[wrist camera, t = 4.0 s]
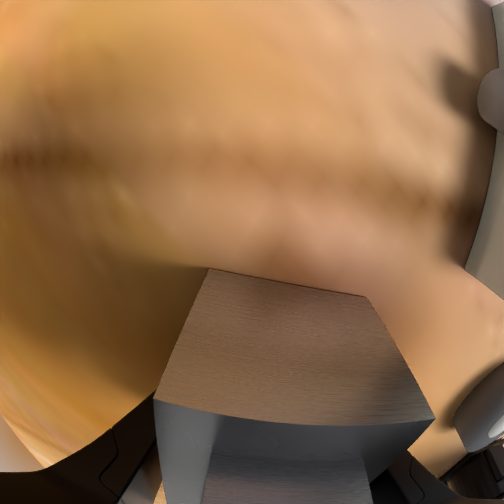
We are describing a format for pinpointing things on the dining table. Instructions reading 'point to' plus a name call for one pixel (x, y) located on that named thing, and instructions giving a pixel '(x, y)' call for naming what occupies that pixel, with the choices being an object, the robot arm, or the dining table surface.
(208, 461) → the grey stepped block
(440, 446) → the dining table surface
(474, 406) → the spare wheel
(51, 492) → the robot arm
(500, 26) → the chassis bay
